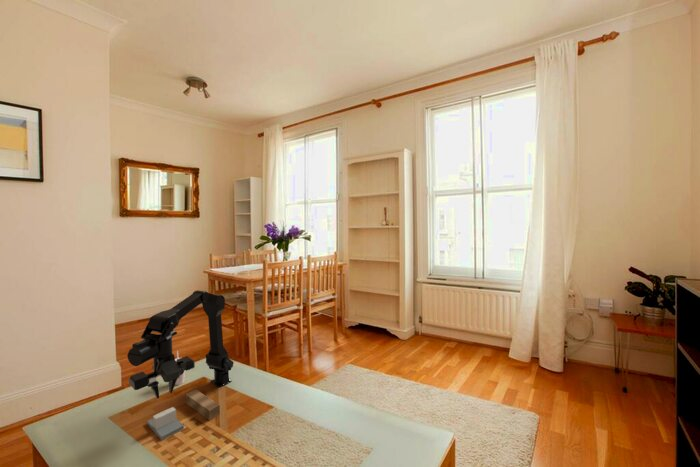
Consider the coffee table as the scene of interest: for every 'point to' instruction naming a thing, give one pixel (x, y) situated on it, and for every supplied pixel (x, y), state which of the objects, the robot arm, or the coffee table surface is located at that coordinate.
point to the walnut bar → (203, 404)
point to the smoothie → (181, 378)
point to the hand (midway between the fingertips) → (164, 395)
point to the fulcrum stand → (165, 423)
